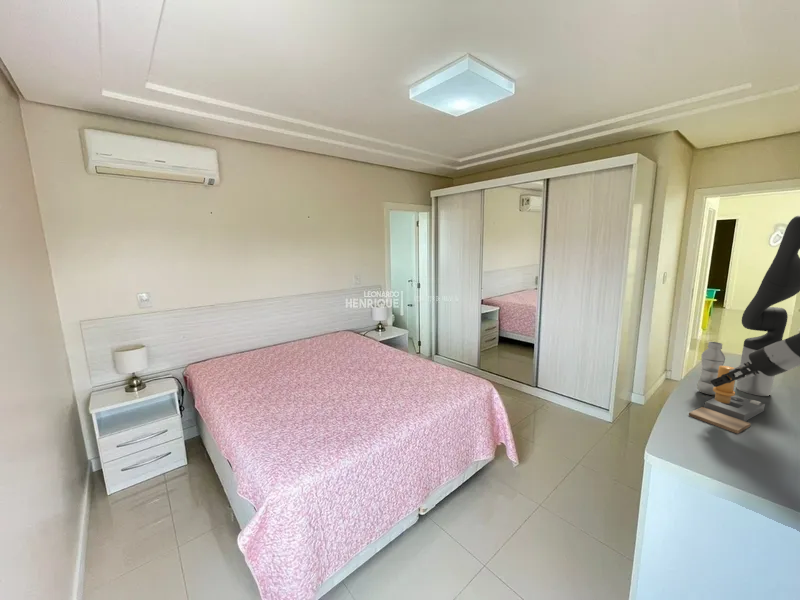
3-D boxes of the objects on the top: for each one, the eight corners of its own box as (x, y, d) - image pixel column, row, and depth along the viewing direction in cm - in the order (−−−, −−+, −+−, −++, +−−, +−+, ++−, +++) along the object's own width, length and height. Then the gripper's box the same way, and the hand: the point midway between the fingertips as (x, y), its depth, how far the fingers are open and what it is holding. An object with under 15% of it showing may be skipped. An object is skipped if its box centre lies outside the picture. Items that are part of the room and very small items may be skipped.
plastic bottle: (724, 398, 121) (733, 346, 118) (703, 396, 123) (711, 345, 120) (711, 390, 128) (719, 341, 124) (691, 389, 129) (699, 340, 126)
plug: (715, 395, 108) (720, 364, 106) (736, 402, 104) (742, 369, 102) (708, 399, 106) (714, 366, 104) (729, 405, 101) (735, 372, 99)
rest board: (701, 409, 113) (702, 406, 113) (750, 426, 103) (750, 423, 102) (688, 415, 109) (689, 412, 109) (737, 433, 99) (738, 430, 98)
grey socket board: (725, 398, 121) (726, 390, 120) (763, 410, 112) (765, 402, 112) (703, 408, 114) (705, 400, 113) (743, 422, 105) (745, 413, 104)
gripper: (776, 343, 98) (717, 368, 111) (756, 349, 92) (696, 375, 104) (799, 365, 94) (735, 389, 107) (780, 374, 88) (715, 398, 101)
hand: (716, 382), depth 105 cm, fingers closed on plug, 4 cm apart
